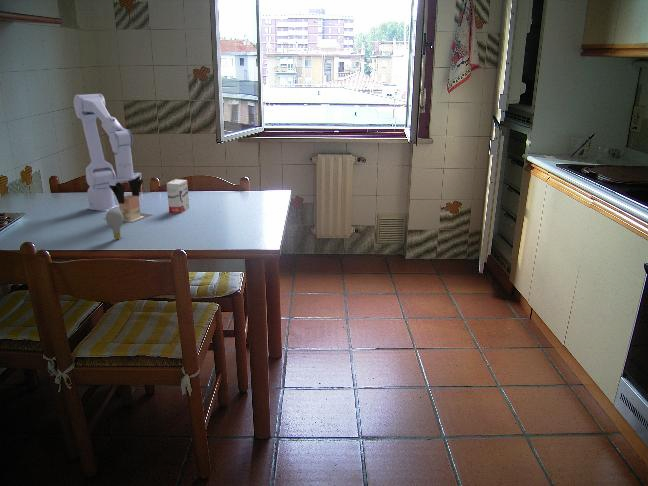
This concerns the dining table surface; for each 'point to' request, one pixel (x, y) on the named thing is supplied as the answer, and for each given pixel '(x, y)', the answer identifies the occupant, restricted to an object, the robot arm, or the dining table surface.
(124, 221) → the grey flat panel
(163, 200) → the dining table surface
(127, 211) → the beech block
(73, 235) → the dining table surface
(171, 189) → the ink box
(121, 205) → the terracotta block
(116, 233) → the light bulb
